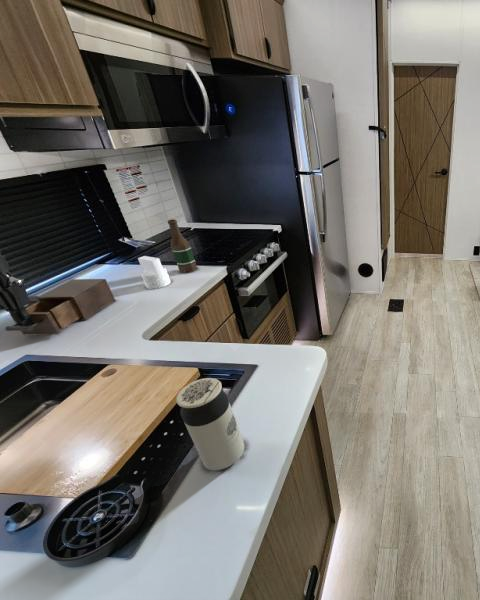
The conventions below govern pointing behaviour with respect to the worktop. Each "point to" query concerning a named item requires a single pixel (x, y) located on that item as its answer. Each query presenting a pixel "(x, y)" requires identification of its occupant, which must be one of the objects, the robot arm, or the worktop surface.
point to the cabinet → (83, 295)
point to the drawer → (48, 317)
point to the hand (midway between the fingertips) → (28, 327)
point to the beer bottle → (181, 249)
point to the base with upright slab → (153, 272)
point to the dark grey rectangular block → (33, 299)
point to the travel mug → (211, 423)
